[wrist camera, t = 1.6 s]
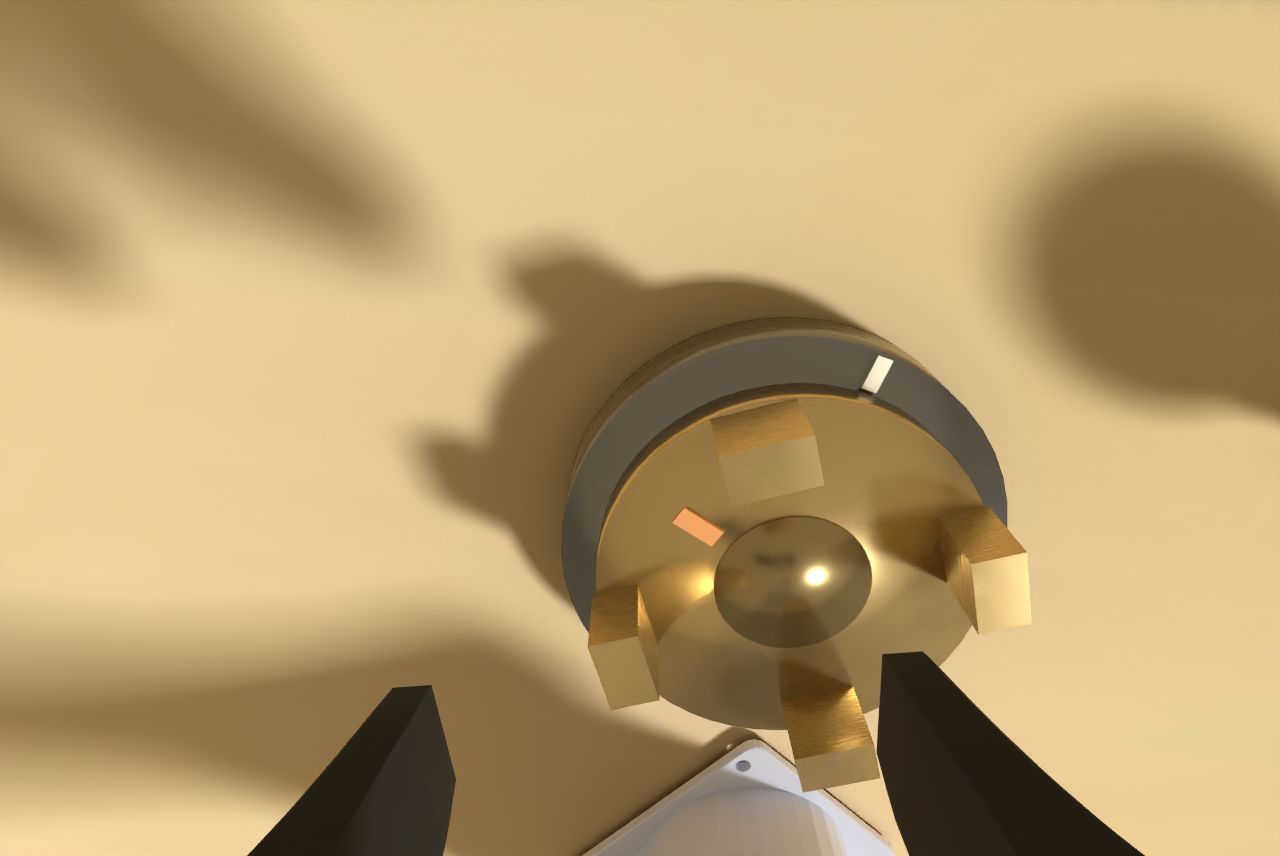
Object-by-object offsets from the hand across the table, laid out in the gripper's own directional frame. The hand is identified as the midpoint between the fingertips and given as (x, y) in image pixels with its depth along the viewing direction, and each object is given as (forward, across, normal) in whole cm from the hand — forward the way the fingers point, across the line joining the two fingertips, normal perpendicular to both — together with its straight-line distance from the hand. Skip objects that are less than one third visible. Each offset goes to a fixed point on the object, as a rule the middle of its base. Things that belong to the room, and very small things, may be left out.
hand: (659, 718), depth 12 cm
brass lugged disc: (+8, -3, +3) cm, 9 cm away
